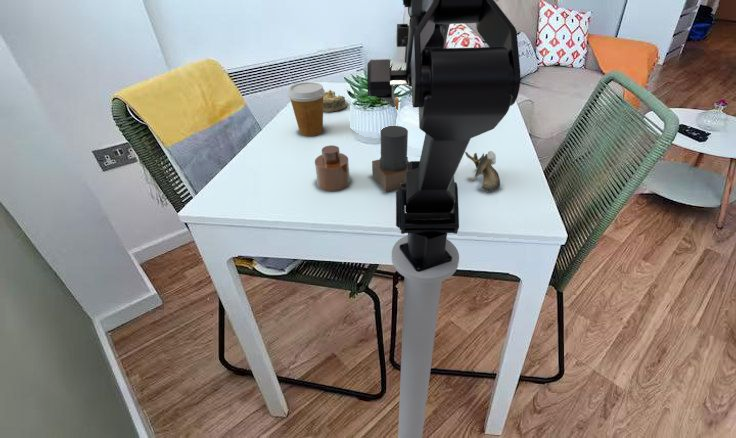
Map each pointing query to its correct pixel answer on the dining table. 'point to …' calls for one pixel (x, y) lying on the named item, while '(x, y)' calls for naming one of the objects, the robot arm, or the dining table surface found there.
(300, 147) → the dining table surface
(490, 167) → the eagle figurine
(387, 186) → the stand
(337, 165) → the bottle
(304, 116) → the disposable coffee cup
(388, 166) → the cap
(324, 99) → the cake
